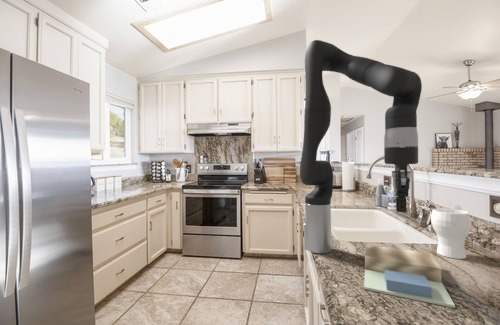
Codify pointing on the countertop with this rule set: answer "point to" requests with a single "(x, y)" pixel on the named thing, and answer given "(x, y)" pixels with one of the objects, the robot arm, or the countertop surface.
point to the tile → (408, 283)
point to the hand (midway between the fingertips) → (401, 211)
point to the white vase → (451, 231)
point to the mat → (377, 284)
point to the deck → (402, 262)
